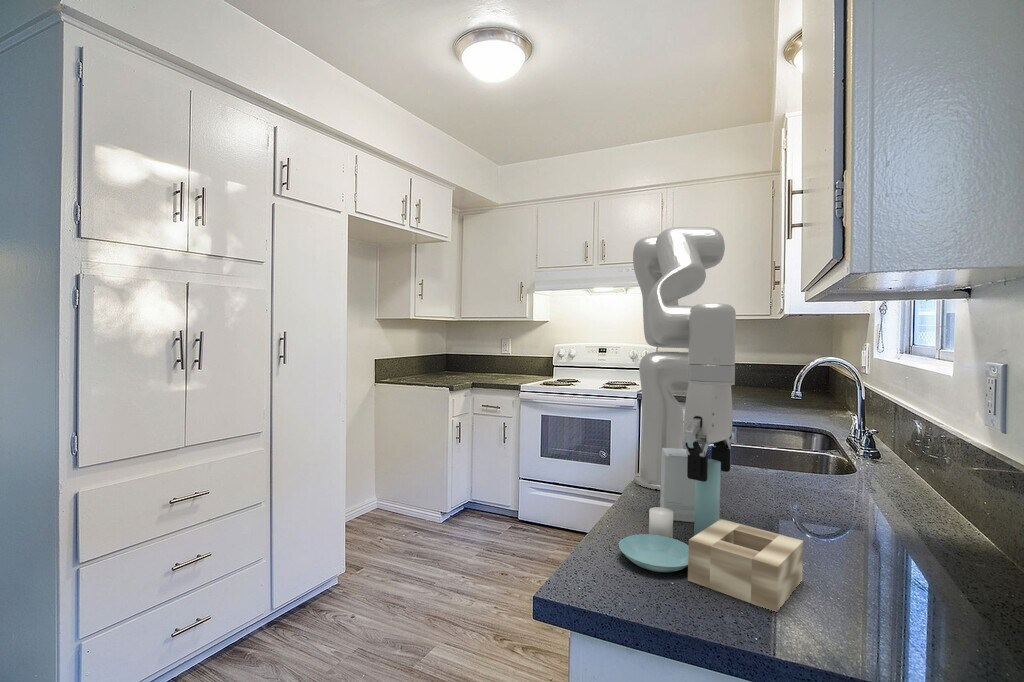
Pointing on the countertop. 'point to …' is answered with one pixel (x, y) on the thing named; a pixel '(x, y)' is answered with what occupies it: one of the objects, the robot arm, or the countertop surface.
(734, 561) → the birch hole block
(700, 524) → the teal dowel
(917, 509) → the countertop surface
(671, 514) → the short off-white stub
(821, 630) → the countertop surface
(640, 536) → the saucer
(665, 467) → the supplement box
